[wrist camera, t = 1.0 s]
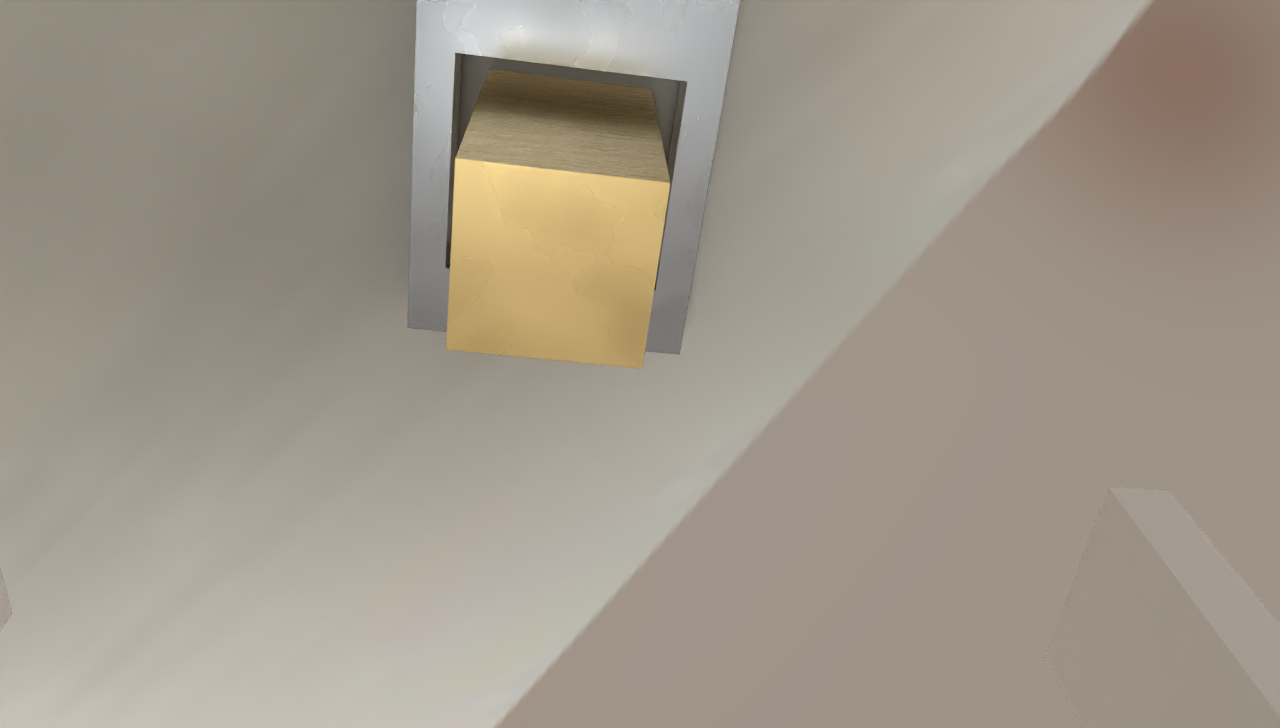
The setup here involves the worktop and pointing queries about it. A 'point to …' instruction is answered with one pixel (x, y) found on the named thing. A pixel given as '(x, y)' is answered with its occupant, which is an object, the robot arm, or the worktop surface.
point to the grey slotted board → (582, 38)
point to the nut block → (557, 221)
